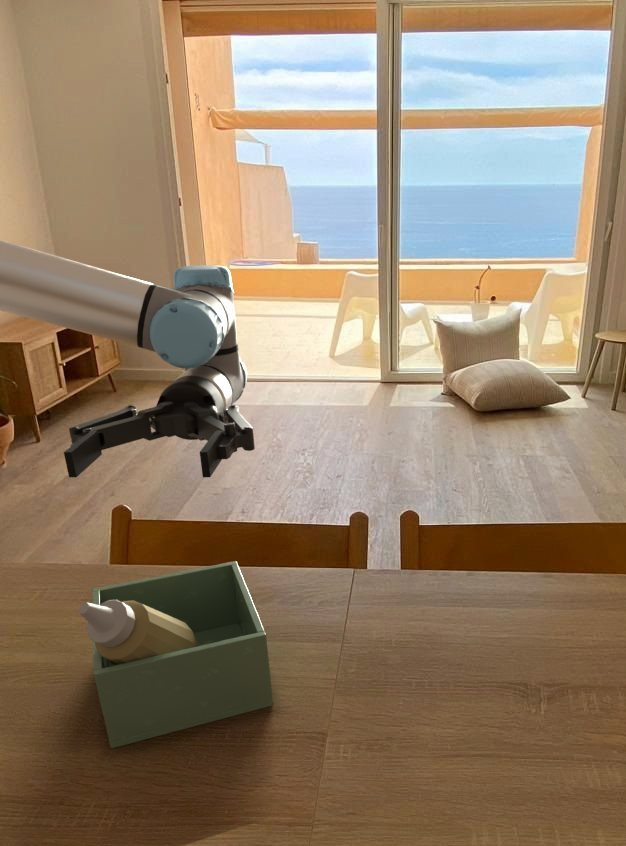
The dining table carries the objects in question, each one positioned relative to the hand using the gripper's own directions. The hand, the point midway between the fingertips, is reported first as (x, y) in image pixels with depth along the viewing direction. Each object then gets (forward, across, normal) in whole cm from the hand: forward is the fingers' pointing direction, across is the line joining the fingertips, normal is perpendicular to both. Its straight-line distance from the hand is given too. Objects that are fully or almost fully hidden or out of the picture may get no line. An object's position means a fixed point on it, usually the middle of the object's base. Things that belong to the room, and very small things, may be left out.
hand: (137, 465), depth 69 cm
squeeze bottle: (-3, 0, -26) cm, 27 cm away
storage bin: (-3, 0, -29) cm, 29 cm away
